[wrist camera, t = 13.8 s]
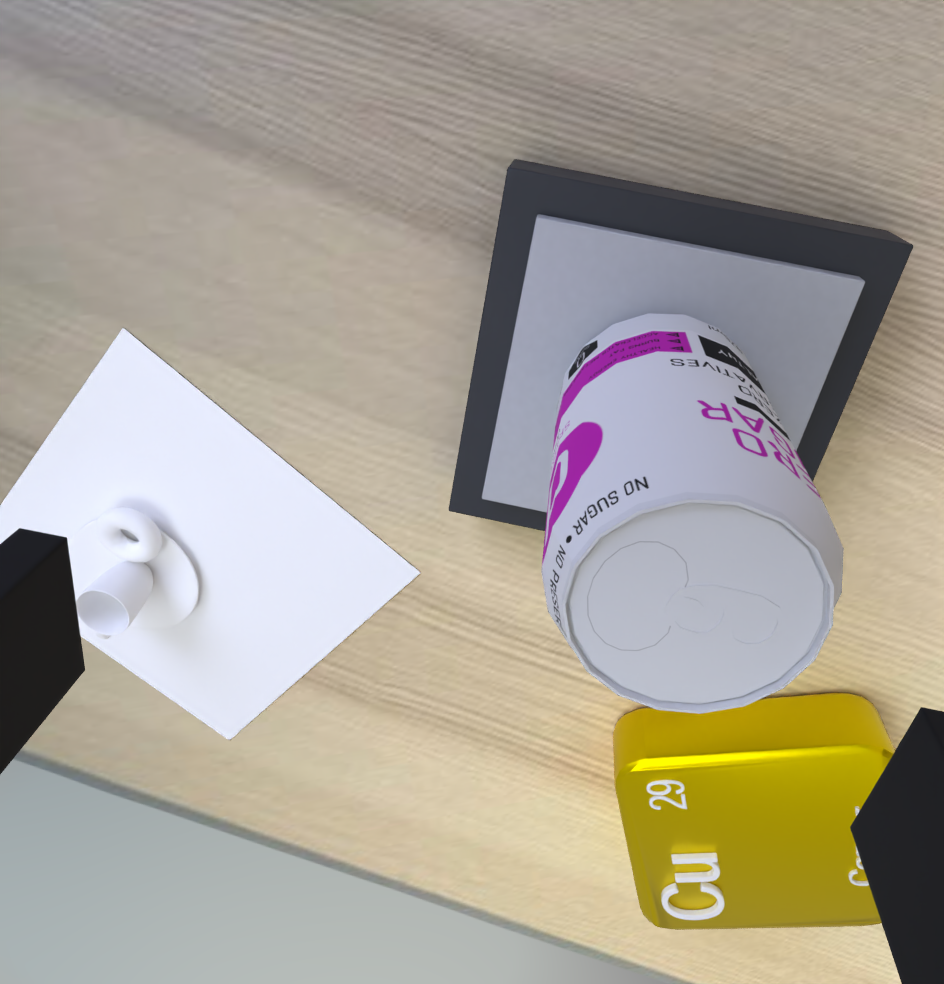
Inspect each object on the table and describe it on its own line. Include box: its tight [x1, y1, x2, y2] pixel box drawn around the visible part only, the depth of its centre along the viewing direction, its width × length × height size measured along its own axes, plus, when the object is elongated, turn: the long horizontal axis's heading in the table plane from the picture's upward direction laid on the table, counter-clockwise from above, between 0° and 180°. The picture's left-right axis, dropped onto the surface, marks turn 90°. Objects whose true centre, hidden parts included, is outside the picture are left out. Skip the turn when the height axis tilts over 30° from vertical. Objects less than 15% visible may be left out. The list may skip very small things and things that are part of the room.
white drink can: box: [542, 313, 844, 714], centre depth 28 cm, size 8×8×15 cm
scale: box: [449, 159, 913, 531], centre depth 36 cm, size 16×16×4 cm
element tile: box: [613, 693, 895, 930], centre depth 47 cm, size 15×15×5 cm
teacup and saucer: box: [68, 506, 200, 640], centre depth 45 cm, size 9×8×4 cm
